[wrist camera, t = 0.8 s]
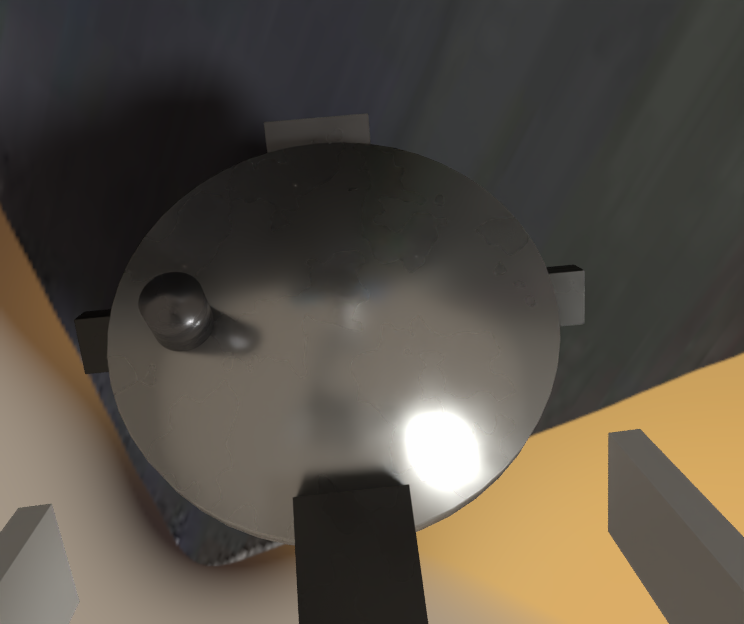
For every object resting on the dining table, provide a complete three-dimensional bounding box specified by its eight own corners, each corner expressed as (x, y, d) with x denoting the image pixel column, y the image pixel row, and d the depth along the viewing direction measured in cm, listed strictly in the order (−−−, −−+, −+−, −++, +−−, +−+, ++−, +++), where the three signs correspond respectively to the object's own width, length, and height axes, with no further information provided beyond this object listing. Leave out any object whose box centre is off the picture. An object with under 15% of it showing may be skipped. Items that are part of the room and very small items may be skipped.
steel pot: (104, 137, 44) (27, 142, 32) (523, 102, 45) (593, 94, 33) (154, 413, 49) (103, 502, 37) (529, 374, 50) (592, 449, 38)
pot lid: (634, 624, 23) (670, 612, 20) (89, 690, 22) (47, 689, 19) (504, 144, 34) (515, 94, 31) (131, 177, 33) (108, 128, 30)
